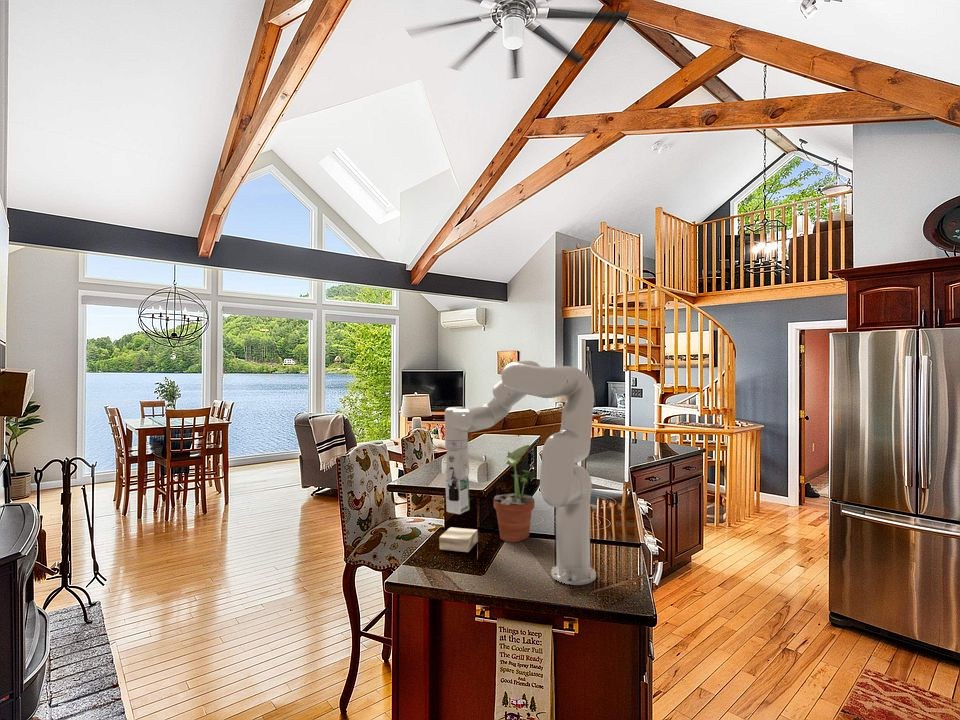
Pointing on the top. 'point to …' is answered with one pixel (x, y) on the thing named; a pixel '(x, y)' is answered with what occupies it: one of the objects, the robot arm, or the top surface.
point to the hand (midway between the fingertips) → (457, 497)
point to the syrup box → (463, 500)
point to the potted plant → (515, 504)
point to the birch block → (458, 539)
